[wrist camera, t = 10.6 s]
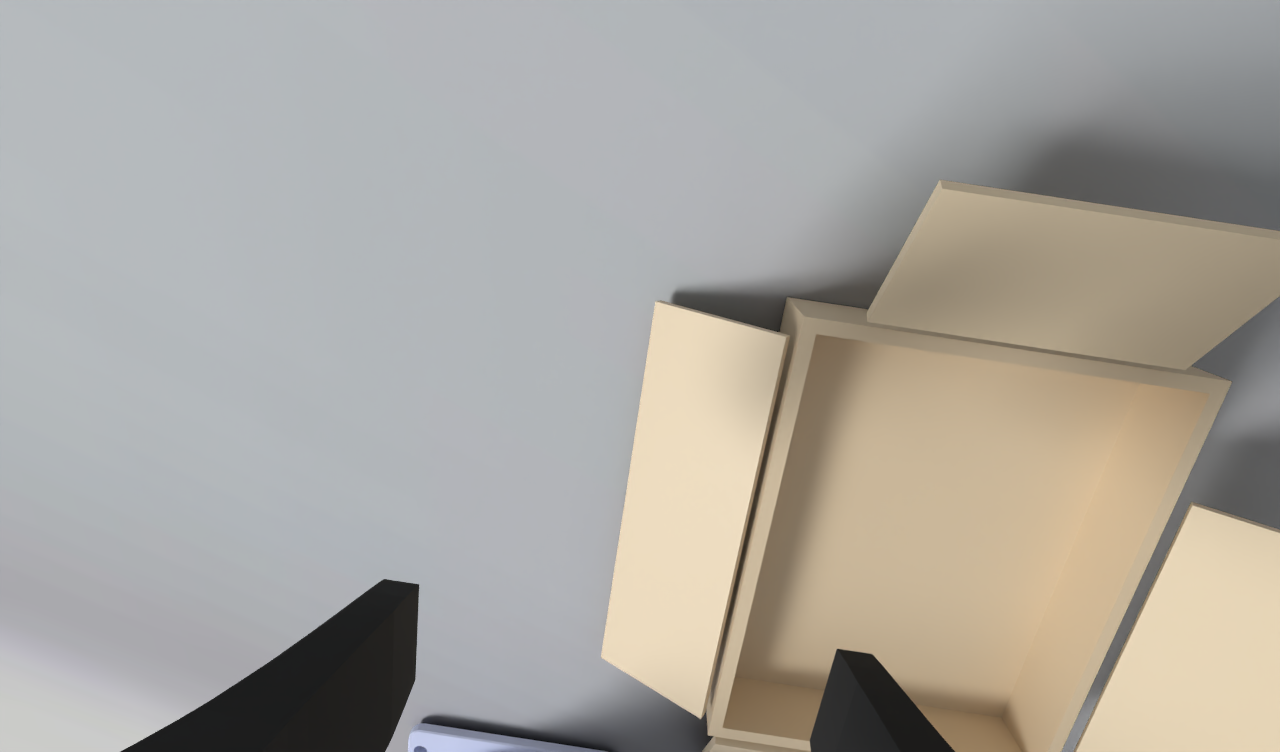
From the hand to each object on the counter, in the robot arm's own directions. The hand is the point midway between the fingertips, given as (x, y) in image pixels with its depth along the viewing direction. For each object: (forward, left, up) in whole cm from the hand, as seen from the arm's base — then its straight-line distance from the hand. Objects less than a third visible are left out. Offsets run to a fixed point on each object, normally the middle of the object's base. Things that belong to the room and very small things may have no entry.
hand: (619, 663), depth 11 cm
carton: (-4, -7, -10) cm, 13 cm away
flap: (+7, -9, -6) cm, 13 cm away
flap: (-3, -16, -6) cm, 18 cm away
